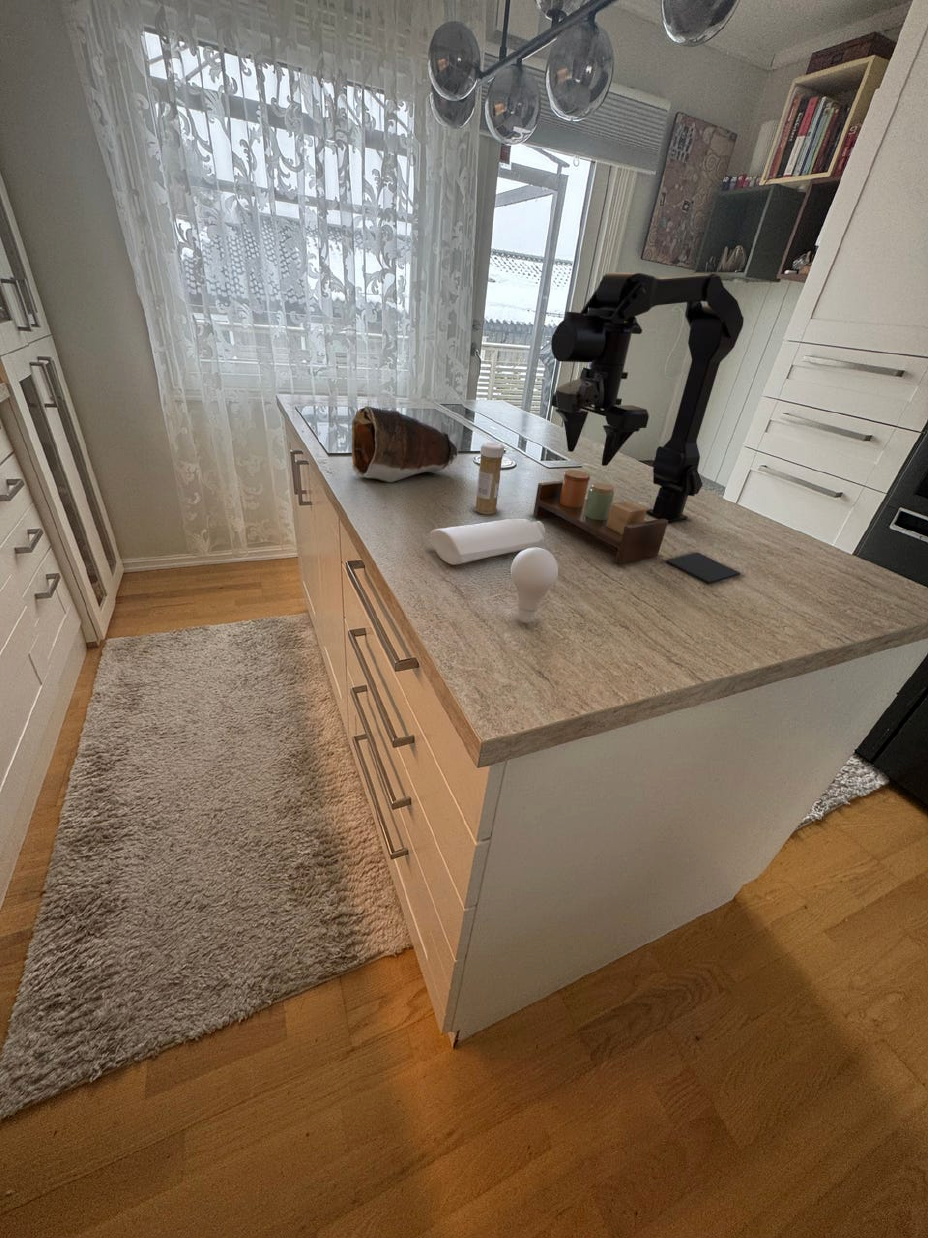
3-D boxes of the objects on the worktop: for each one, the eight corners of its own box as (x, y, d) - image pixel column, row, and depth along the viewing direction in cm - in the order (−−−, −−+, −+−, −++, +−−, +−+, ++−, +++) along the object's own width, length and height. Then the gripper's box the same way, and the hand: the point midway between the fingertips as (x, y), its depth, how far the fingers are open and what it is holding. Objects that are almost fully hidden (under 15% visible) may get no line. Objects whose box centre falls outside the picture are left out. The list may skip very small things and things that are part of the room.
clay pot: (478, 427, 120) (379, 406, 106) (466, 493, 125) (370, 482, 111) (445, 421, 131) (352, 402, 117) (436, 482, 136) (345, 471, 122)
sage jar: (596, 510, 101) (602, 481, 98) (613, 518, 98) (620, 488, 95) (578, 513, 99) (585, 483, 96) (595, 521, 96) (603, 491, 93)
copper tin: (572, 498, 106) (578, 469, 103) (589, 506, 103) (595, 476, 100) (553, 500, 104) (559, 471, 101) (570, 509, 101) (576, 478, 97)
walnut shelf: (568, 510, 112) (575, 478, 108) (657, 556, 95) (668, 520, 91) (532, 516, 107) (538, 483, 103) (619, 565, 90) (630, 528, 86)
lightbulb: (500, 610, 73) (510, 538, 68) (542, 611, 74) (556, 540, 68) (507, 634, 68) (518, 558, 63) (551, 635, 69) (567, 561, 63)
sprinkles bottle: (500, 513, 106) (509, 447, 99) (482, 516, 104) (490, 448, 97) (487, 506, 110) (495, 441, 102) (470, 508, 107) (476, 442, 100)
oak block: (622, 523, 96) (628, 500, 94) (640, 532, 93) (647, 508, 91) (605, 526, 94) (611, 503, 92) (623, 535, 91) (630, 511, 89)
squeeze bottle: (429, 549, 89) (430, 521, 86) (520, 533, 98) (524, 507, 96) (458, 573, 82) (461, 544, 79) (553, 553, 92) (558, 526, 89)
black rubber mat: (696, 554, 97) (697, 552, 97) (739, 574, 91) (740, 572, 91) (665, 562, 93) (666, 560, 93) (708, 584, 87) (709, 582, 86)
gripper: (534, 354, 88) (521, 446, 97) (610, 371, 75) (587, 477, 83) (583, 356, 93) (567, 444, 102) (663, 372, 80) (636, 472, 88)
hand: (586, 458), depth 94 cm, fingers open, 9 cm apart
